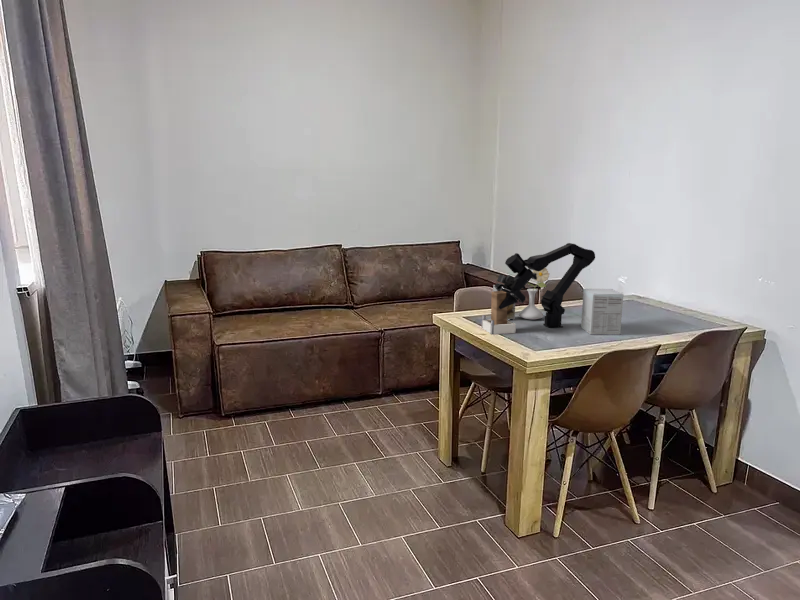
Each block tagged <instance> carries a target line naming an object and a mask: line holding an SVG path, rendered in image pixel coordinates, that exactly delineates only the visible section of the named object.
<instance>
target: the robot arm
mask: <svg viewBox="0 0 800 600" xmlns="http://www.w3.org/2000/svg"><path fill="white" fill-rule="evenodd" d="M569 255H572V256H573V257H572V258H573V259H572V264H571V266H570V267H568V269H567V271H566V272H565V273H564V275H563V277H561V279H560V280H559V282H558V283H557V284H556V286H555V287H554V288H553V289H551V290H549V289H547V290H546V291H545V293H544V294H543V295H542V296H541V300H540V302H541V303H540V304H541V307H542V308H543V311H544V312H545V315H544V320H543V321H544V323H543V326H545V327H547V328H549V329H554V328H555V329H558V328H563V327H564V326H563V325H562V316H563V315H564V314H565V312H566V309H565V308H564V307H563V306H562V303H563V300H564V295H565V294H566V293H567V291H568V290H569V288H570V287H571V285H572V284H573V283H574V281H575V280H576V278H578V276H579V275H580V273H581V272H582V271H583V270H584V269H585V268H587V267H589V266H590V265H591V264H592V263H593V262H594V261H595V260H596V253H595V251H594V250H593V249H588V248H587V249H586V248H584V247H581V246H580V245H577V244H576V243H570V242H567V243H566V244H564V245H562V246H560V247H557V248H556V249H553V250H550V251H549V252H546V253H543V254H537V255H532V256H530V257H528V258H527V259H523V258H522V257H521V255H520V254H519V253H517V252H516V253H514V254H513V255H511V256H509V257H507V259H506V260H505V263H504V264H505V265H506V266H507V268H508V269H509V270H510V271H511V272H512V273H514V274H516V275H515V276H512V275H510V274H509V275H504V274H498V277H497V280H496V281H497V283H496V284H494V285H495V286H494V287H495V288H496V289H497V291H504V292H506V298H505V299H504V301H503V302H502V303H501V305H500V306H499V309H502V308H505V307H507V306H509V305H512V304H514V303H515V304H518V303H521V304H523V303H524V302H525V301H526V296H525V295H524V294H523V292H522V290H523V289H524V290H525V289H526V285H527V284H528V283H530V282H529V281H530V280H534V279H535V280H534V281H536V280H537V276H536V275H537V274H536V273H533V270H535V271H541V270H543V269H544V268H546V269H547V267H548V266H549V265H550V264H551V263H553V262H555V261H558V260H560V259H562V258H564V257H566V256H569ZM503 284H504V285H503Z"/></svg>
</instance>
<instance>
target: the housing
mask: <svg viewBox="0 0 800 600" xmlns="http://www.w3.org/2000/svg"><path fill="white" fill-rule="evenodd" d="M481 316H482V318H481V329H482V328H483V329H482V330H484V331H485V330H486V331H485V332H487V333H488V332H489V333H488V334H490V335H504V334H505V335H506V334H516V328H517V327H516V326H517V325H516V323H515V322H512V320H507V324H498V325H494V320H491V318H489V319H486V318H487V317H486V316H487V315H486V314H485V315H484V314H483V315H481Z"/></svg>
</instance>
